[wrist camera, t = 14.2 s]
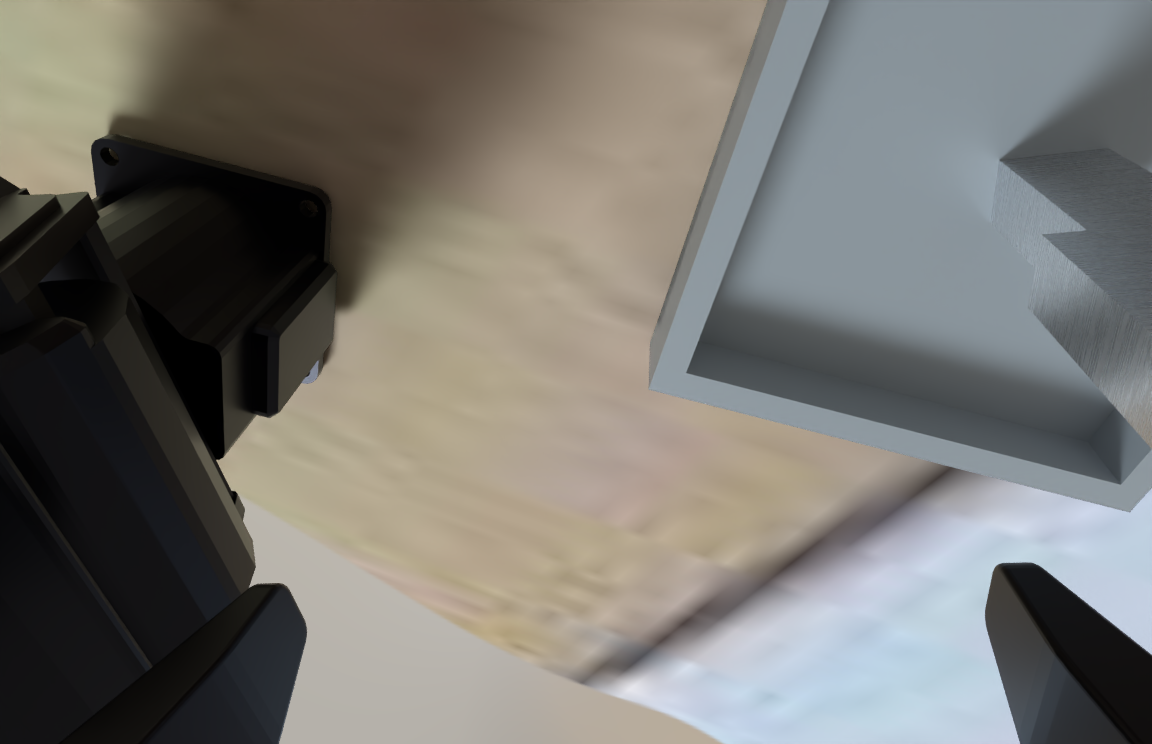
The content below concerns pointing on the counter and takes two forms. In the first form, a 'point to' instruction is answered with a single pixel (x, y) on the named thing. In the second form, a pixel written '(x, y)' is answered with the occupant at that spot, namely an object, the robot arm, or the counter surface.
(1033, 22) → the tray
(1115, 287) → the grey rectangular block
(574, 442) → the counter surface
